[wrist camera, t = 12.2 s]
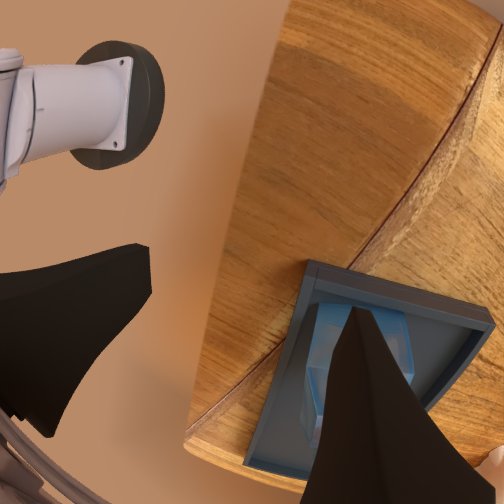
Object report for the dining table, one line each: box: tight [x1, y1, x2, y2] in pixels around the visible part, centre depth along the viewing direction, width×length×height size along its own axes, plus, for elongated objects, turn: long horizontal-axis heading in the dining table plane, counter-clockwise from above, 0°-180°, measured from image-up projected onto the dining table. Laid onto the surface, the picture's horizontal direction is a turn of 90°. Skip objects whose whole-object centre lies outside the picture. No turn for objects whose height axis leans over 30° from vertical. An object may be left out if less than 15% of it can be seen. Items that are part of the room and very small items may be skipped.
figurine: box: [474, 445, 504, 504], centre depth 16 cm, size 11×11×15 cm
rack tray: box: [242, 259, 496, 481], centre depth 25 cm, size 16×36×2 cm, turn 172°
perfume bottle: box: [300, 302, 415, 468], centre depth 15 cm, size 6×6×12 cm
